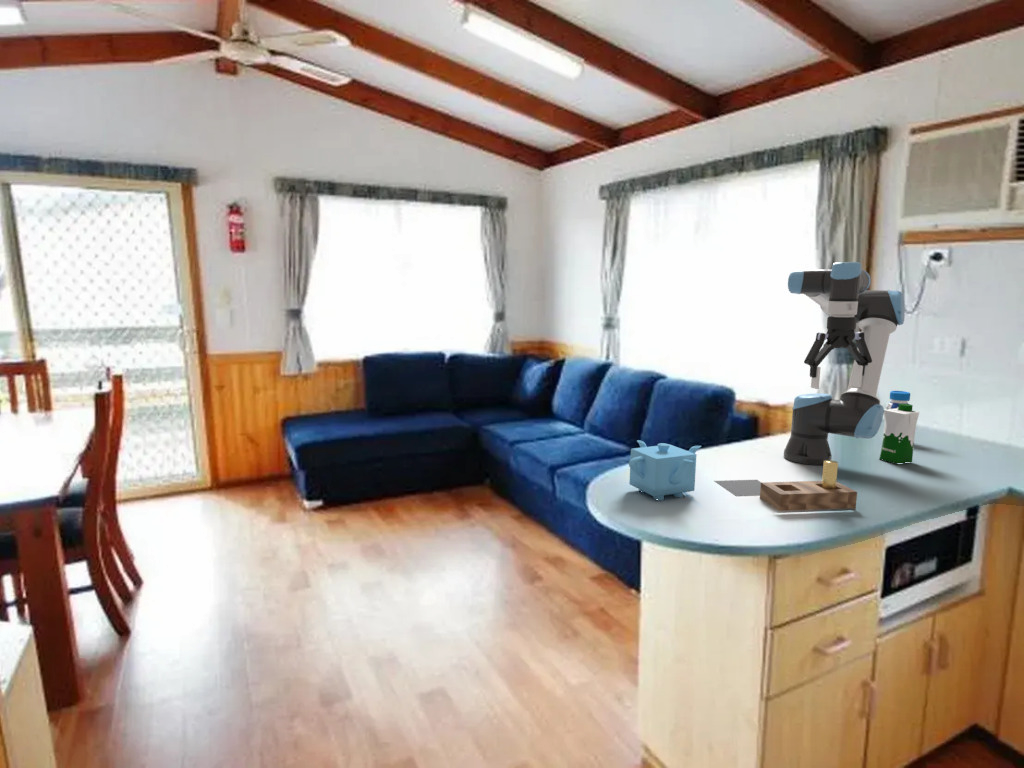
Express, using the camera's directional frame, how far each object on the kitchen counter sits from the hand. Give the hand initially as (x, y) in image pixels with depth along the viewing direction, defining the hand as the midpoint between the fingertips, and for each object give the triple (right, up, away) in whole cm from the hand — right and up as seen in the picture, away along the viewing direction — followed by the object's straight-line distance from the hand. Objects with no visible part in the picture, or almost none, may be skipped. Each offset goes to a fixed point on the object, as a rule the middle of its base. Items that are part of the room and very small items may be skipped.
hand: (835, 387), depth 181 cm
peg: (-9, -32, -12) cm, 36 cm away
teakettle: (-52, -31, -5) cm, 61 cm away
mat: (-27, -30, -1) cm, 40 cm away
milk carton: (+38, -26, +32) cm, 56 cm away
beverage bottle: (+55, -22, +60) cm, 84 cm away
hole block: (-15, -32, -13) cm, 38 cm away
